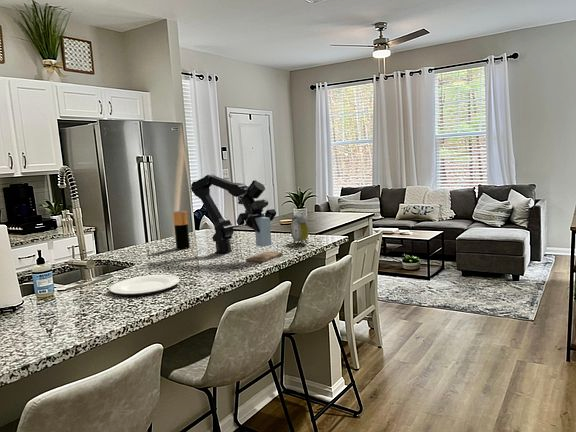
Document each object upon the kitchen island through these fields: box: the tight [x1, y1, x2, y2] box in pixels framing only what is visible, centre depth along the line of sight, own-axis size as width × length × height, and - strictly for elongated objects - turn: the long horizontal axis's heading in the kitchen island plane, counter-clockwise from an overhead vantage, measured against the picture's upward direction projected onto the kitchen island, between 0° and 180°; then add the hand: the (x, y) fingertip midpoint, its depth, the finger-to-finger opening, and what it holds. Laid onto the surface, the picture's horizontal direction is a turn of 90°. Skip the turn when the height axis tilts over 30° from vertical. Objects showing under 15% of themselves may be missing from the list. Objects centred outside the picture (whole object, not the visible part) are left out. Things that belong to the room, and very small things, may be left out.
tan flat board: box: [245, 251, 283, 264], centre depth 206 cm, size 16×9×1 cm, turn 147°
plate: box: [108, 274, 181, 296], centre depth 168 cm, size 25×25×2 cm
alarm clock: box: [289, 213, 310, 246], centre depth 237 cm, size 12×7×15 cm, turn 25°
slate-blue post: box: [254, 217, 272, 248], centre depth 205 cm, size 5×5×12 cm
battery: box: [172, 210, 191, 250], centre depth 241 cm, size 7×7×20 cm
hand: (264, 231), depth 204 cm, fingers closed on slate-blue post, 5 cm apart
